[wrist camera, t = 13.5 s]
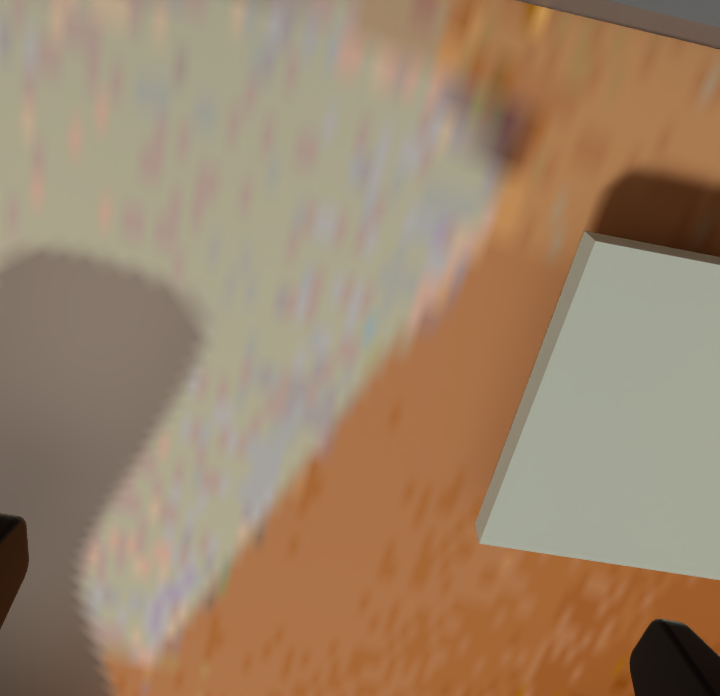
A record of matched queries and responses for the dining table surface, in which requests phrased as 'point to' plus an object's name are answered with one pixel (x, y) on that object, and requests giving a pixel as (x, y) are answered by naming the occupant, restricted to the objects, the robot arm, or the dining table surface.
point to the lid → (620, 417)
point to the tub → (651, 16)
